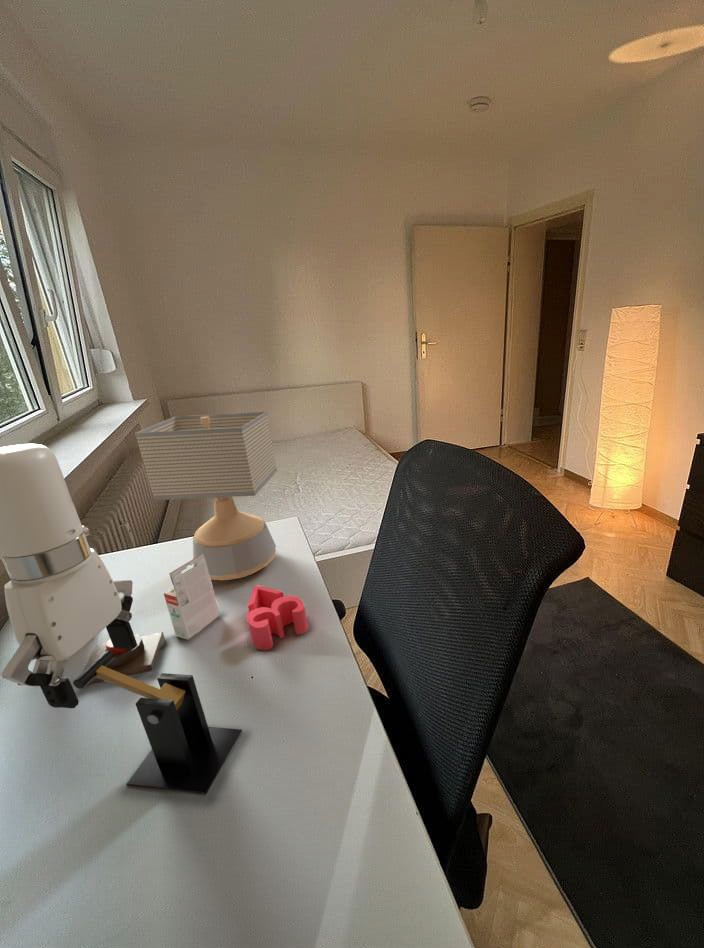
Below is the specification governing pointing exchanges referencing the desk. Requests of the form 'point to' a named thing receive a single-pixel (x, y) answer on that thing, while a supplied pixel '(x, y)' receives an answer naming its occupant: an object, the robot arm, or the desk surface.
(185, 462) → the desk lamp
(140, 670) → the button block
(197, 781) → the switch bracket
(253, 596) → the letters
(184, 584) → the ink box
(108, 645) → the red button
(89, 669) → the switch lever
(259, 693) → the desk surface
